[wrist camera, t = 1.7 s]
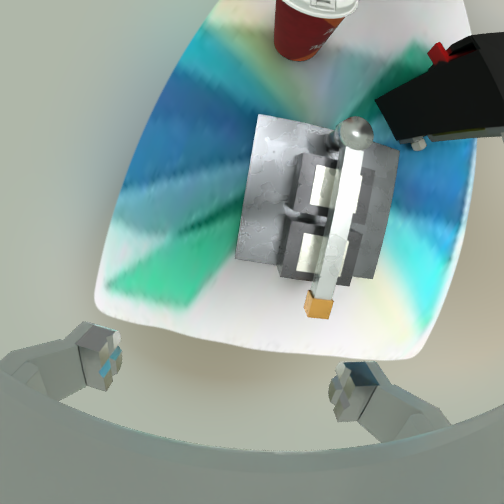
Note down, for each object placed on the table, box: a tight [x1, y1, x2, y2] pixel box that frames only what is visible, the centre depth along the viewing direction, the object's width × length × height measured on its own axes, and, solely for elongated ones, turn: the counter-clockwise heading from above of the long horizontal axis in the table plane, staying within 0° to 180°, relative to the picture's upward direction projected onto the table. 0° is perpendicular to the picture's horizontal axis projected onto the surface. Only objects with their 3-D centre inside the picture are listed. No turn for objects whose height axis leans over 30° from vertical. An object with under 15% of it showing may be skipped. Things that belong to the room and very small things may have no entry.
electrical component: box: [375, 32, 504, 151], centre depth 19 cm, size 18×10×20 cm, turn 121°
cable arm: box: [304, 116, 374, 319], centre depth 25 cm, size 20×3×2 cm, turn 171°
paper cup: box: [274, 0, 359, 61], centre depth 20 cm, size 8×8×14 cm
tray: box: [235, 114, 400, 286], centre depth 29 cm, size 17×18×6 cm
